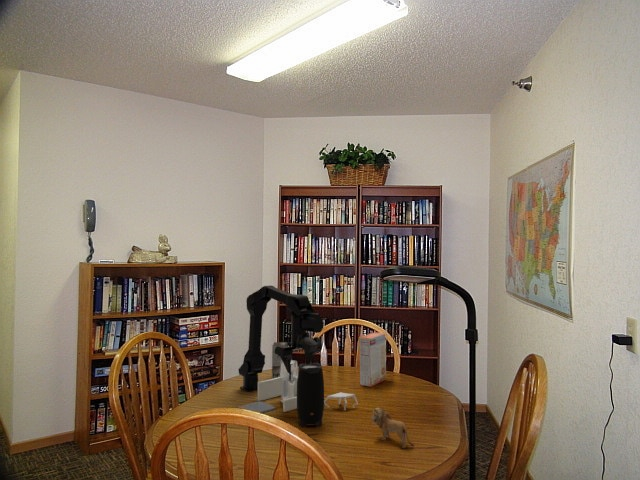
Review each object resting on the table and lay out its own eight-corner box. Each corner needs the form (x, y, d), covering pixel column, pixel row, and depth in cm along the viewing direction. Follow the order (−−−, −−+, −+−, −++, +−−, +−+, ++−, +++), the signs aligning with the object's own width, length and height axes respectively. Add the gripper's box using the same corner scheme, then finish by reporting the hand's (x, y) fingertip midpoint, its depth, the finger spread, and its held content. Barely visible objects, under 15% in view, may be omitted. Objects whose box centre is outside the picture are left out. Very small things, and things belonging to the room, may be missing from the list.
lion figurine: (368, 437, 148) (368, 408, 148) (377, 432, 152) (377, 404, 152) (410, 450, 138) (410, 419, 138) (418, 445, 142) (418, 415, 143)
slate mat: (237, 408, 174) (237, 406, 174) (260, 402, 181) (260, 401, 181) (253, 415, 167) (253, 414, 167) (276, 409, 173) (276, 407, 173)
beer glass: (295, 404, 178) (295, 364, 179) (277, 403, 180) (277, 363, 180) (299, 398, 185) (299, 360, 185) (282, 397, 187) (282, 359, 187)
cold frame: (257, 400, 183) (257, 382, 183) (291, 391, 194) (292, 374, 195) (284, 411, 170) (284, 392, 171) (319, 401, 182) (319, 383, 182)
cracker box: (374, 377, 215) (374, 331, 215) (386, 380, 212) (386, 333, 212) (358, 385, 204) (358, 336, 204) (370, 387, 200) (370, 338, 200)
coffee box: (286, 383, 206) (286, 345, 207) (271, 383, 206) (271, 345, 207) (288, 377, 216) (288, 341, 216) (273, 377, 216) (274, 341, 216)
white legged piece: (347, 402, 182) (347, 389, 182) (358, 409, 174) (358, 395, 174) (319, 406, 176) (319, 393, 176) (329, 414, 169) (329, 400, 169)
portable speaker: (320, 429, 154) (320, 369, 154) (292, 426, 157) (293, 367, 157) (327, 420, 162) (327, 363, 162) (301, 417, 165) (301, 361, 165)
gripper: (293, 335, 166) (292, 380, 166) (331, 329, 179) (331, 370, 179) (274, 330, 174) (273, 373, 174) (312, 325, 187) (311, 365, 187)
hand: (298, 370), depth 178 cm, fingers open, 9 cm apart
